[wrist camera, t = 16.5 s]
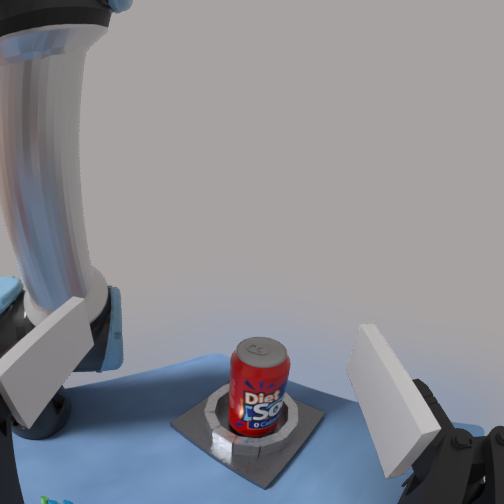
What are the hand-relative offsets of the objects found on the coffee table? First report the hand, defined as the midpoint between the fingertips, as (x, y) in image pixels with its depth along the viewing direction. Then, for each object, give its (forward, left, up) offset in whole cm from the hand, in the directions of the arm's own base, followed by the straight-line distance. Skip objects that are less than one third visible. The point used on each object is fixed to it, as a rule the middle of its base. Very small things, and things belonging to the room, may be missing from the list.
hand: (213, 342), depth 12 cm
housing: (-8, +17, -30) cm, 36 cm away
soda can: (-8, +18, -29) cm, 35 cm away
